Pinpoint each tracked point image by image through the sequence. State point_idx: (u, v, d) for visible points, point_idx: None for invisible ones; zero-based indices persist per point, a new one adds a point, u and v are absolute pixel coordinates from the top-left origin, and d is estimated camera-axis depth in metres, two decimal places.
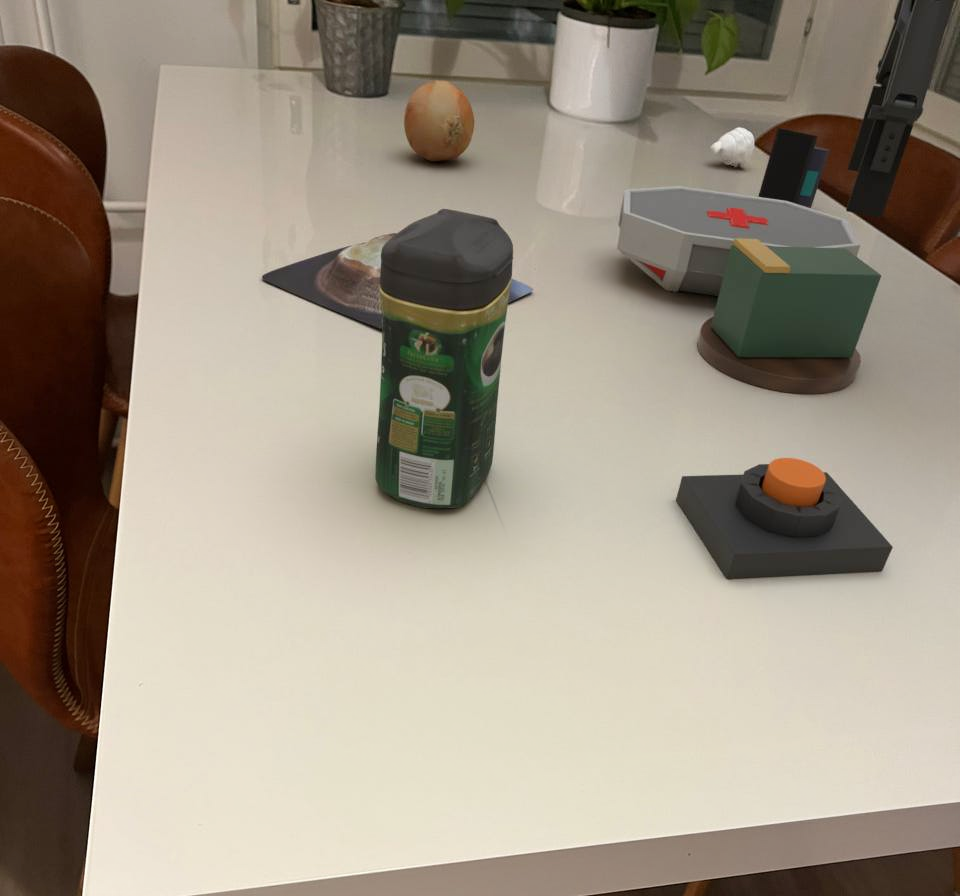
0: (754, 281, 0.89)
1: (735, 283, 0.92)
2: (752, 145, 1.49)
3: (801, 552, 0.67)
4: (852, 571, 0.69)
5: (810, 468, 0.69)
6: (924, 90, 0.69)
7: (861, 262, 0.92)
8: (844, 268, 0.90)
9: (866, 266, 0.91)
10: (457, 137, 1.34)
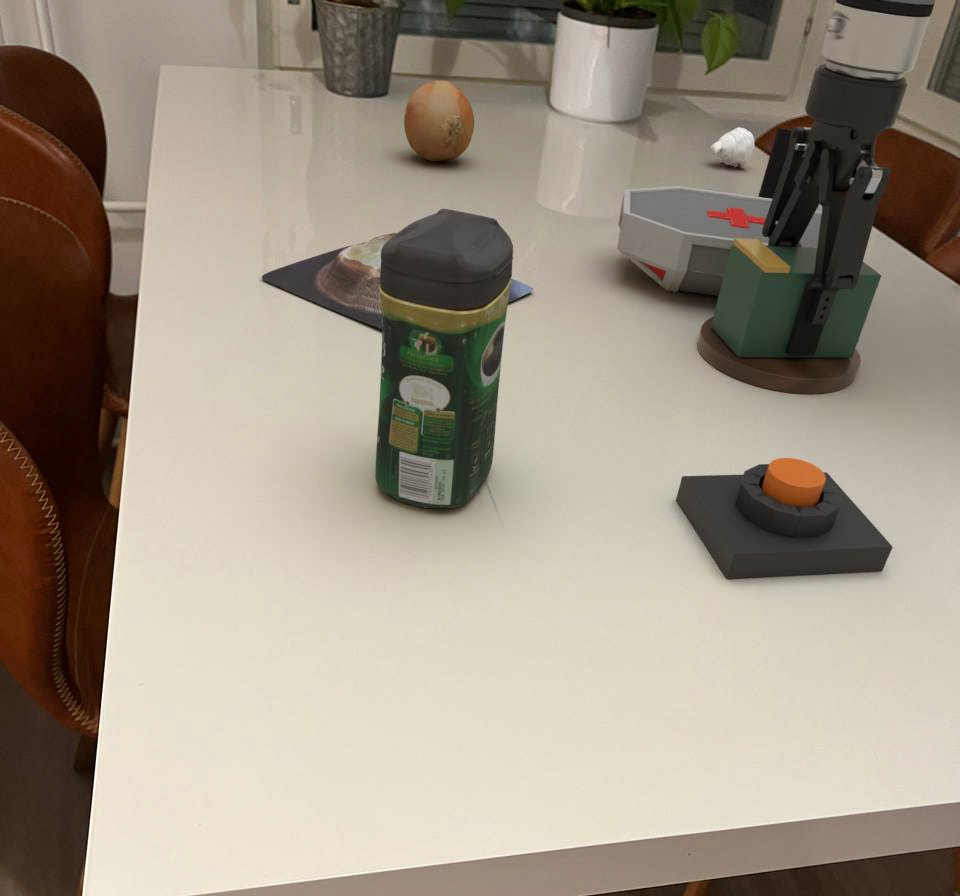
0: (754, 281, 0.89)
1: (735, 283, 0.92)
2: (752, 145, 1.49)
3: (801, 552, 0.67)
4: (852, 571, 0.69)
5: (810, 468, 0.69)
6: (858, 269, 0.85)
7: None
8: None
9: (866, 266, 0.91)
10: (457, 137, 1.34)
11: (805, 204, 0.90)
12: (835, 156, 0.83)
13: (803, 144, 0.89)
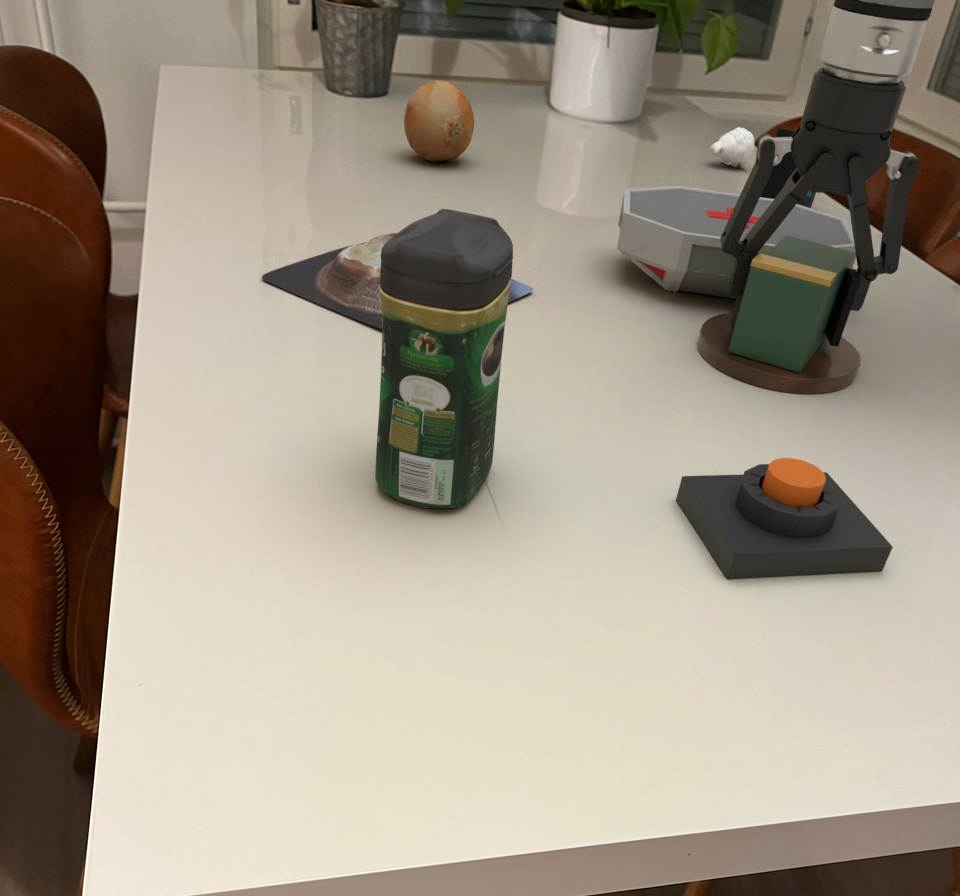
0: (813, 298, 0.87)
1: (772, 304, 0.89)
2: (752, 145, 1.49)
3: (801, 552, 0.67)
4: (852, 571, 0.69)
5: (810, 468, 0.69)
6: None
7: (823, 245, 0.95)
8: (834, 257, 0.92)
9: (834, 248, 0.94)
10: (457, 137, 1.34)
11: None
12: None
13: (777, 155, 0.85)
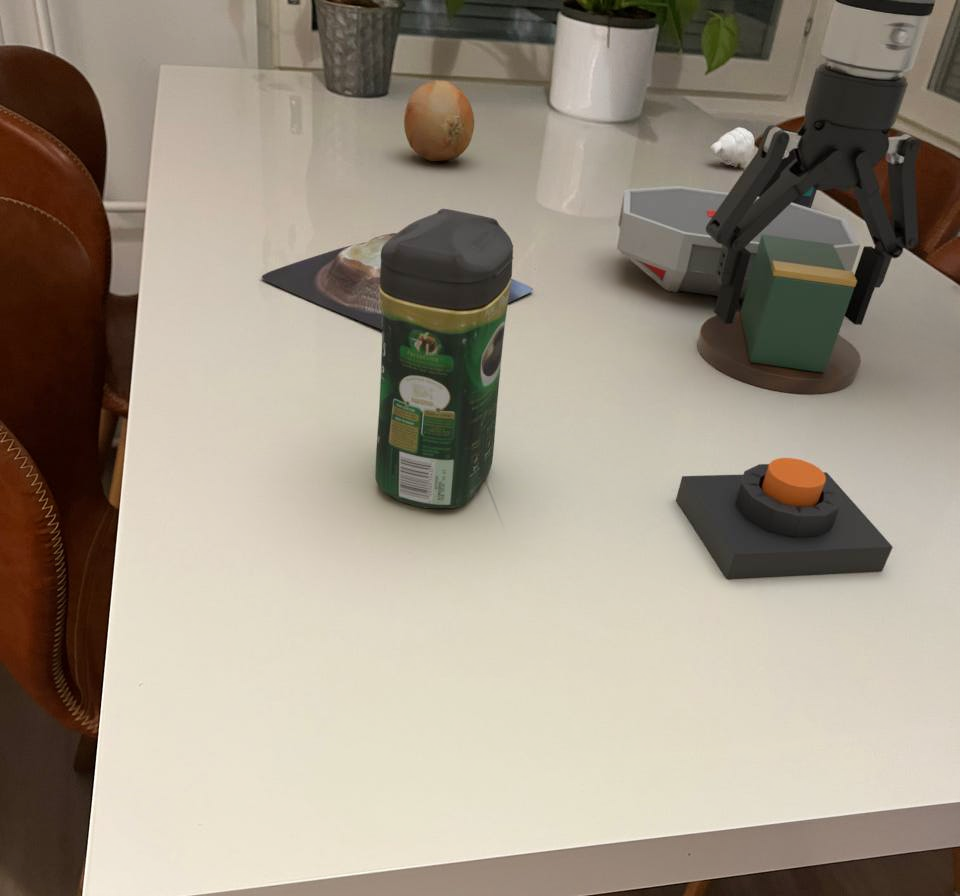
0: (840, 299, 0.87)
1: (797, 310, 0.88)
2: (752, 145, 1.49)
3: (801, 552, 0.67)
4: (852, 571, 0.69)
5: (810, 468, 0.69)
6: None
7: (801, 240, 0.95)
8: (823, 252, 0.93)
9: (812, 242, 0.95)
10: (457, 137, 1.34)
11: None
12: None
13: (786, 150, 0.83)
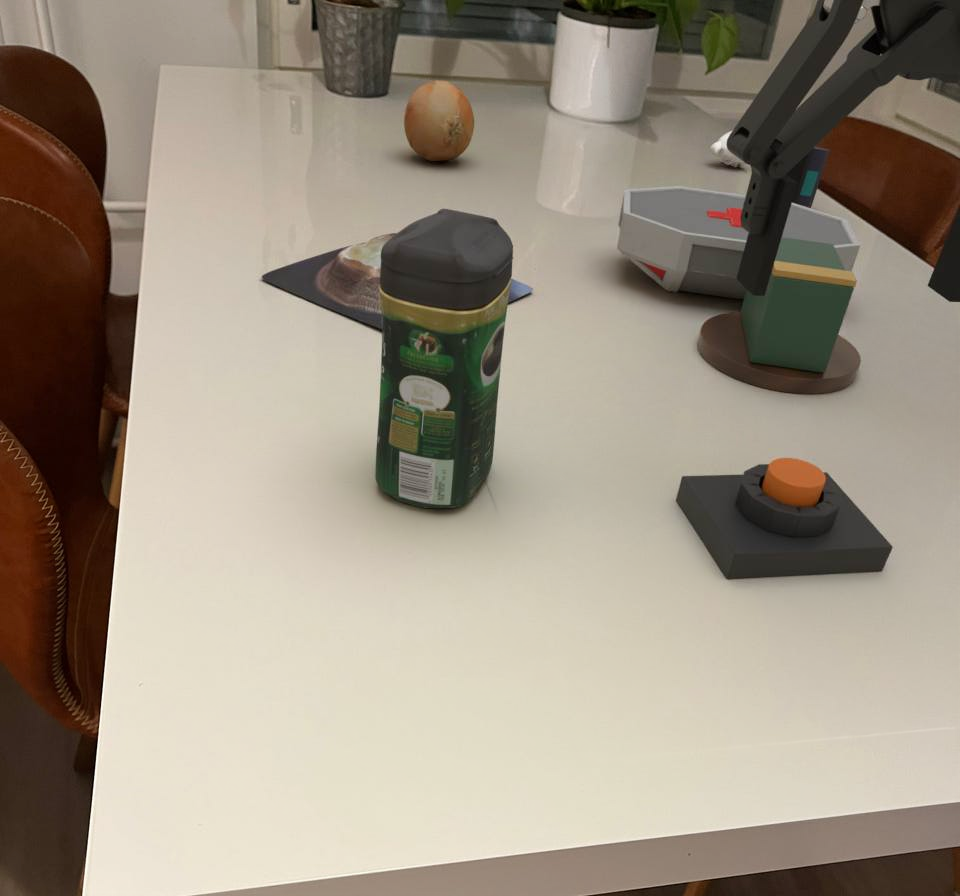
0: (840, 299, 0.87)
1: (797, 310, 0.88)
2: None
3: (801, 552, 0.67)
4: (852, 571, 0.69)
5: (810, 468, 0.69)
6: None
7: (801, 240, 0.95)
8: (823, 252, 0.93)
9: (812, 242, 0.95)
10: (457, 137, 1.34)
11: None
12: None
13: None
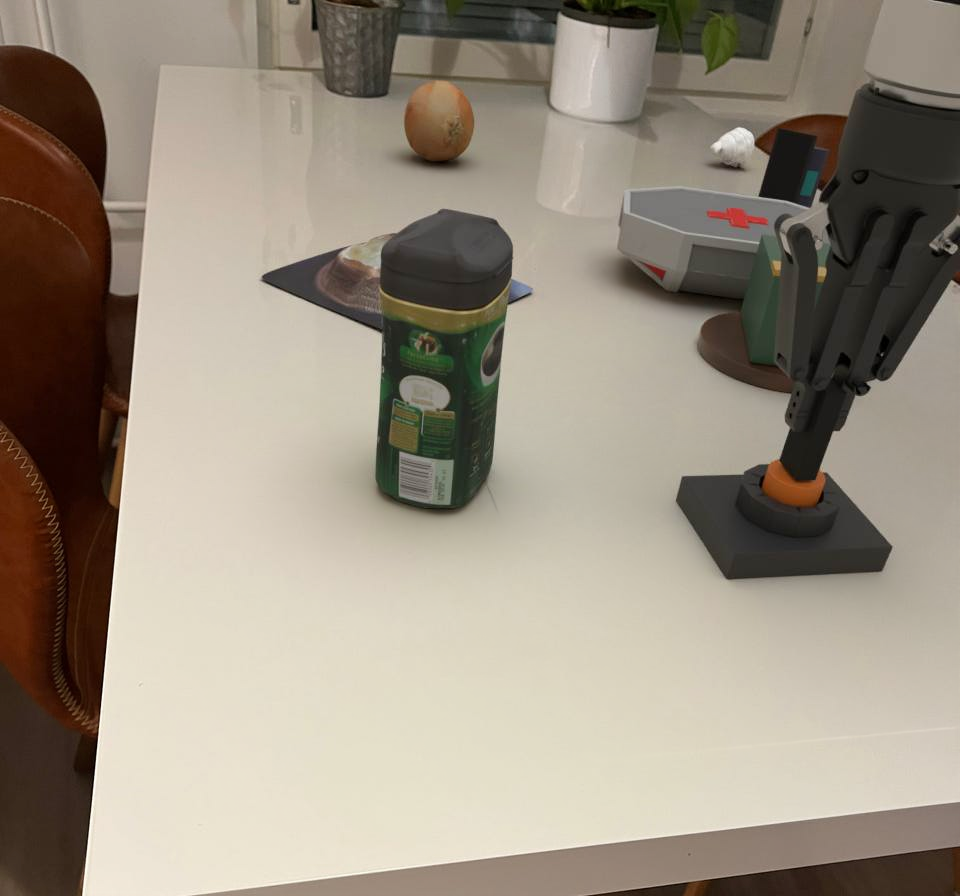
0: None
1: None
2: (752, 145, 1.49)
3: (801, 552, 0.67)
4: (852, 571, 0.69)
5: None
6: None
7: None
8: (823, 252, 0.93)
9: None
10: (457, 137, 1.34)
11: None
12: None
13: (816, 236, 0.57)
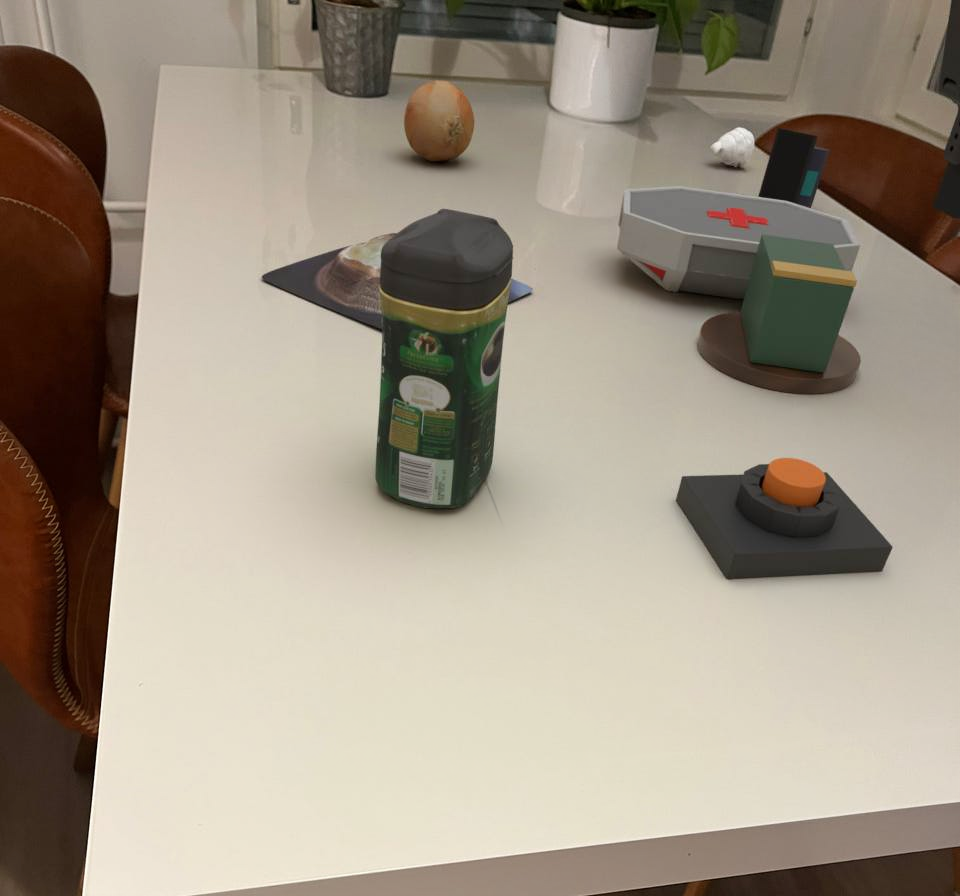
0: (840, 299, 0.87)
1: (797, 310, 0.88)
2: (752, 145, 1.49)
3: (801, 552, 0.67)
4: (852, 571, 0.69)
5: (810, 468, 0.69)
6: None
7: (801, 240, 0.95)
8: (823, 252, 0.93)
9: (812, 242, 0.95)
10: (457, 137, 1.34)
11: None
12: None
13: None
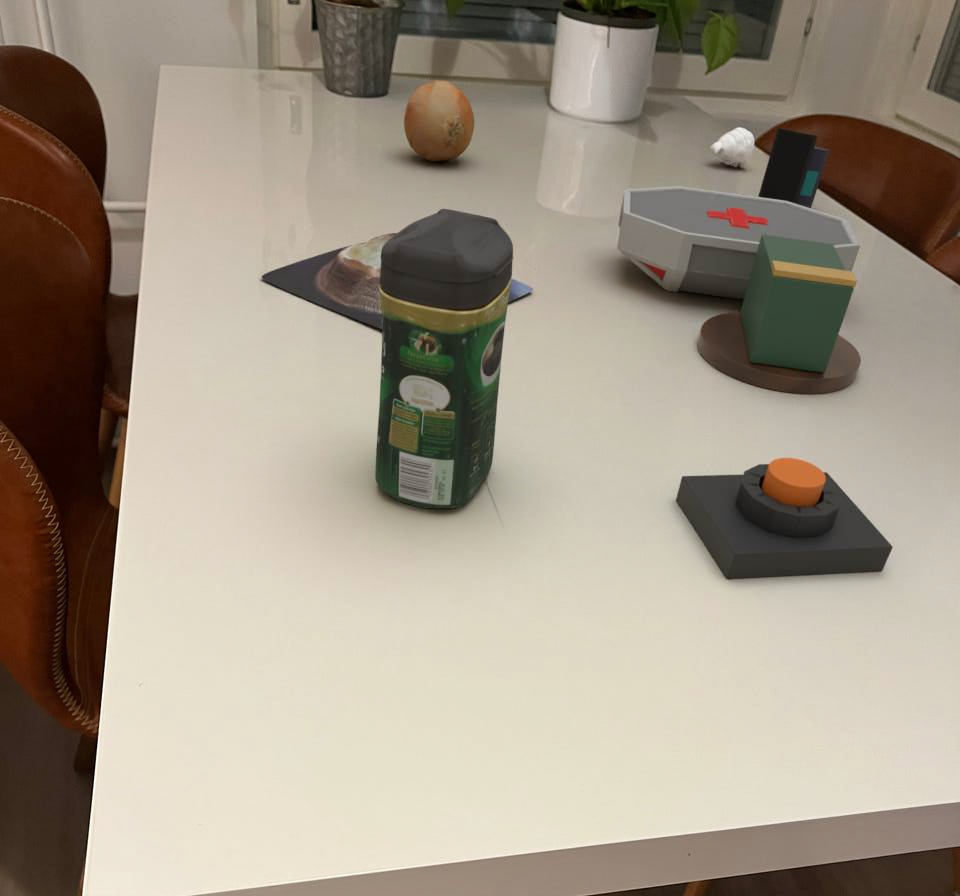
0: (840, 299, 0.87)
1: (797, 310, 0.88)
2: (752, 145, 1.49)
3: (801, 552, 0.67)
4: (852, 571, 0.69)
5: (810, 468, 0.69)
6: None
7: (801, 240, 0.95)
8: (823, 252, 0.93)
9: (812, 242, 0.95)
10: (457, 137, 1.34)
11: None
12: None
13: None
